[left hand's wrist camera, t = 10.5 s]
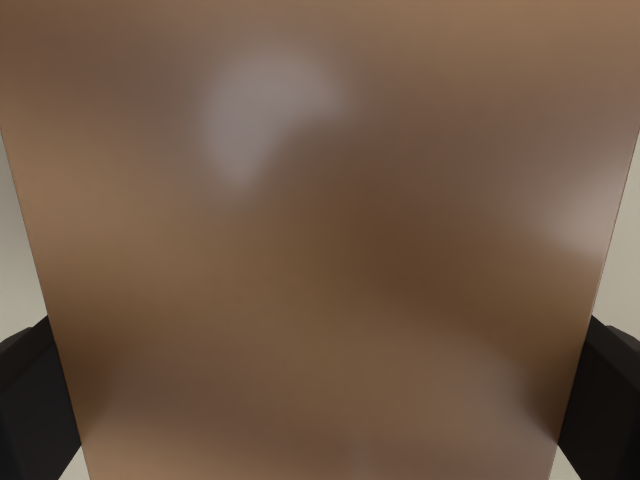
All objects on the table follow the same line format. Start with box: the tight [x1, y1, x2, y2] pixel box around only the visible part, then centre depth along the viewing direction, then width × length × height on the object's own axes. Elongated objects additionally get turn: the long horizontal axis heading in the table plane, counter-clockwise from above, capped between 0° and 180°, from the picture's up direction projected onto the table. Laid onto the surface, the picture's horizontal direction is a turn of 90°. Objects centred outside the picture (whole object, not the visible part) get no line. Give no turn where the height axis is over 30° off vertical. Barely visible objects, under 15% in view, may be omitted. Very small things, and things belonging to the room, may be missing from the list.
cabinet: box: [0, 0, 640, 480], centre depth 11 cm, size 20×11×10 cm, turn 0°
